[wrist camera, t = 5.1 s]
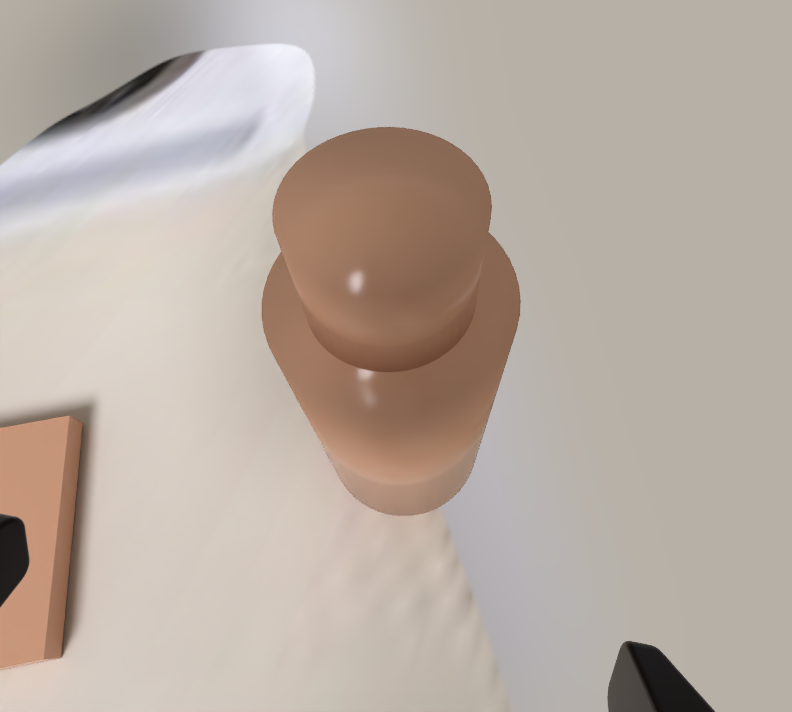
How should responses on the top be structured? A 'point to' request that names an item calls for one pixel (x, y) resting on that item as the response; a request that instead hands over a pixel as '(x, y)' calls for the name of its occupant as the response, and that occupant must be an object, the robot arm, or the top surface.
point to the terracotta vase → (391, 311)
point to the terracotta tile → (39, 533)
